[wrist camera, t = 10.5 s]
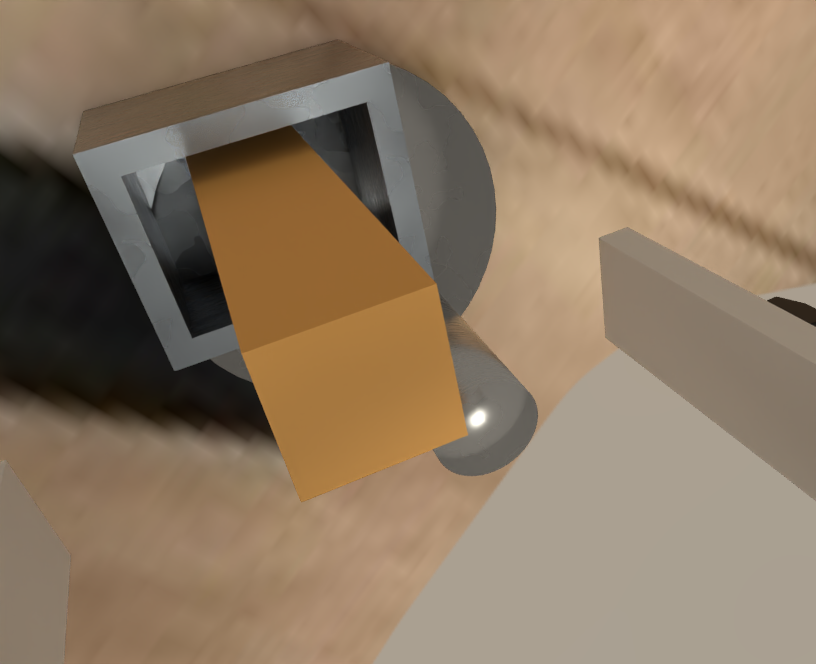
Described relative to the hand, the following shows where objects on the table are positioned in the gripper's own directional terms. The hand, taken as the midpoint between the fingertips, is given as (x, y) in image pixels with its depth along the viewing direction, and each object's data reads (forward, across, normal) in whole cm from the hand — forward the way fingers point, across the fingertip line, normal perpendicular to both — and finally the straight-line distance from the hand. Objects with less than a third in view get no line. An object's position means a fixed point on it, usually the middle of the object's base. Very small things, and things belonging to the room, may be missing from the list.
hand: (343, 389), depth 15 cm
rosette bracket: (+17, +3, -3) cm, 17 cm away
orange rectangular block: (+15, +1, 0) cm, 15 cm away
